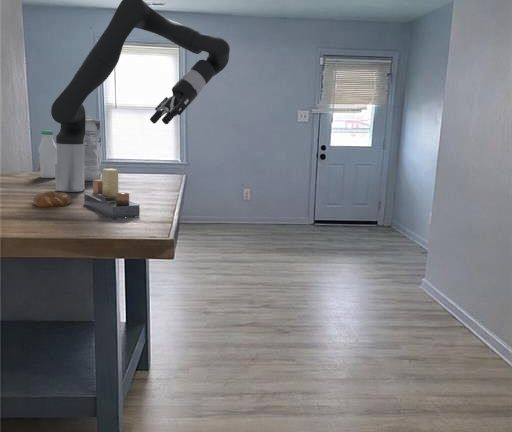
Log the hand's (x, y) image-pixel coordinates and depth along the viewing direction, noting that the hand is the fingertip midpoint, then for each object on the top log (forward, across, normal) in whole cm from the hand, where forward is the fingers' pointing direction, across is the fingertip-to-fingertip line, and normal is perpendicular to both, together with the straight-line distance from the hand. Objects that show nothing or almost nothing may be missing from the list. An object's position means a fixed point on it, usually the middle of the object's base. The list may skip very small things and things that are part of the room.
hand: (157, 122), depth 147 cm
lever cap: (+28, +2, +4) cm, 29 cm away
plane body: (+31, +2, +7) cm, 32 cm away
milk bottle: (+29, -74, +7) cm, 79 cm away
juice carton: (+21, -62, +16) cm, 67 cm away
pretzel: (+40, -15, -2) cm, 43 cm away
